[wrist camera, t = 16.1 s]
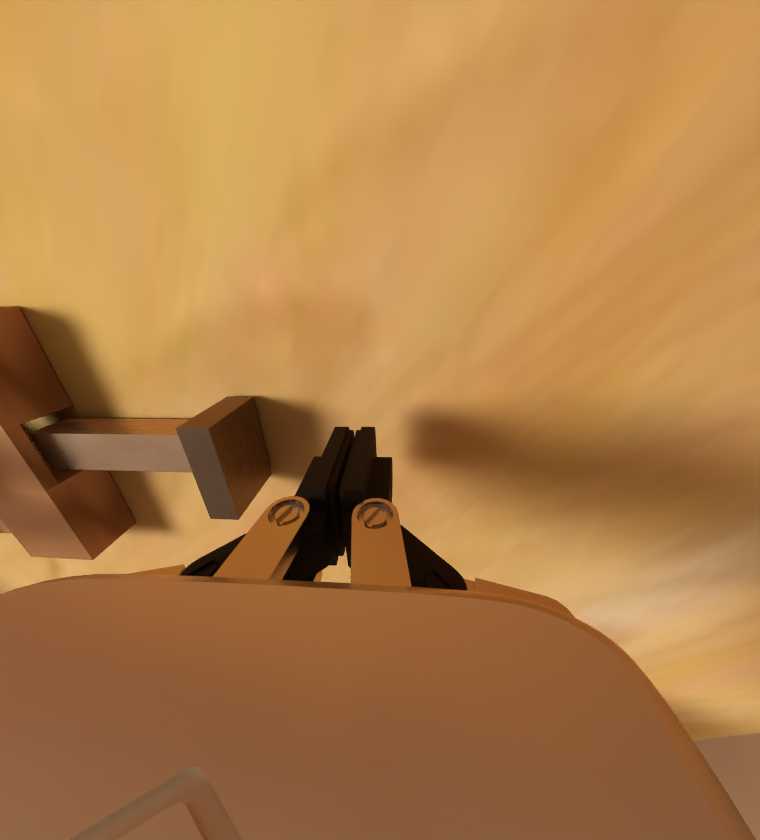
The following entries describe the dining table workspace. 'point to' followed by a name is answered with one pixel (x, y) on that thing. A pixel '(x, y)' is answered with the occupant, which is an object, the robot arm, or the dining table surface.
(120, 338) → the dining table surface
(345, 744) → the robot arm
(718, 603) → the dining table surface
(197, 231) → the dining table surface
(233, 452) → the lock pin
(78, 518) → the mount
